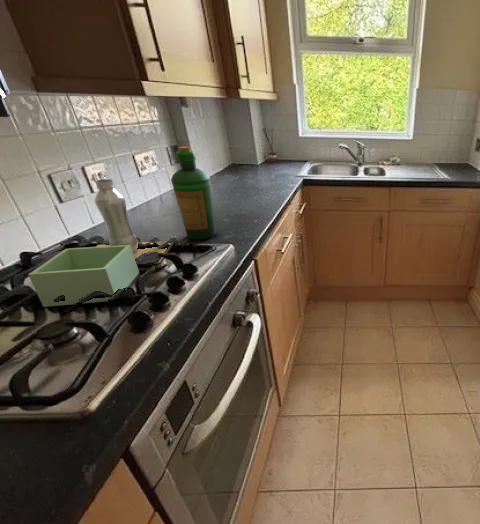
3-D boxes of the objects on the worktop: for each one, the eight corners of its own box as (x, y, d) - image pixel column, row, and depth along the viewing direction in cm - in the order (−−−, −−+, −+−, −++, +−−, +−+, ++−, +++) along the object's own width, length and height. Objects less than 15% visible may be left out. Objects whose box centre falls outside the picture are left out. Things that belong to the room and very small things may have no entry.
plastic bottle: (124, 258, 90) (100, 184, 81) (106, 254, 92) (81, 181, 83) (145, 249, 95) (125, 179, 87) (128, 245, 97) (107, 177, 89)
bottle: (177, 237, 108) (156, 146, 96) (207, 228, 116) (191, 144, 104) (196, 244, 103) (176, 150, 91) (226, 235, 111) (211, 147, 99)
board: (73, 269, 86) (72, 265, 85) (99, 248, 98) (98, 244, 97) (159, 263, 90) (158, 259, 90) (173, 244, 102) (172, 240, 102)
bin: (43, 307, 70) (27, 274, 67) (77, 277, 82) (65, 248, 78) (116, 300, 73) (105, 268, 70) (139, 272, 85) (130, 244, 82)
